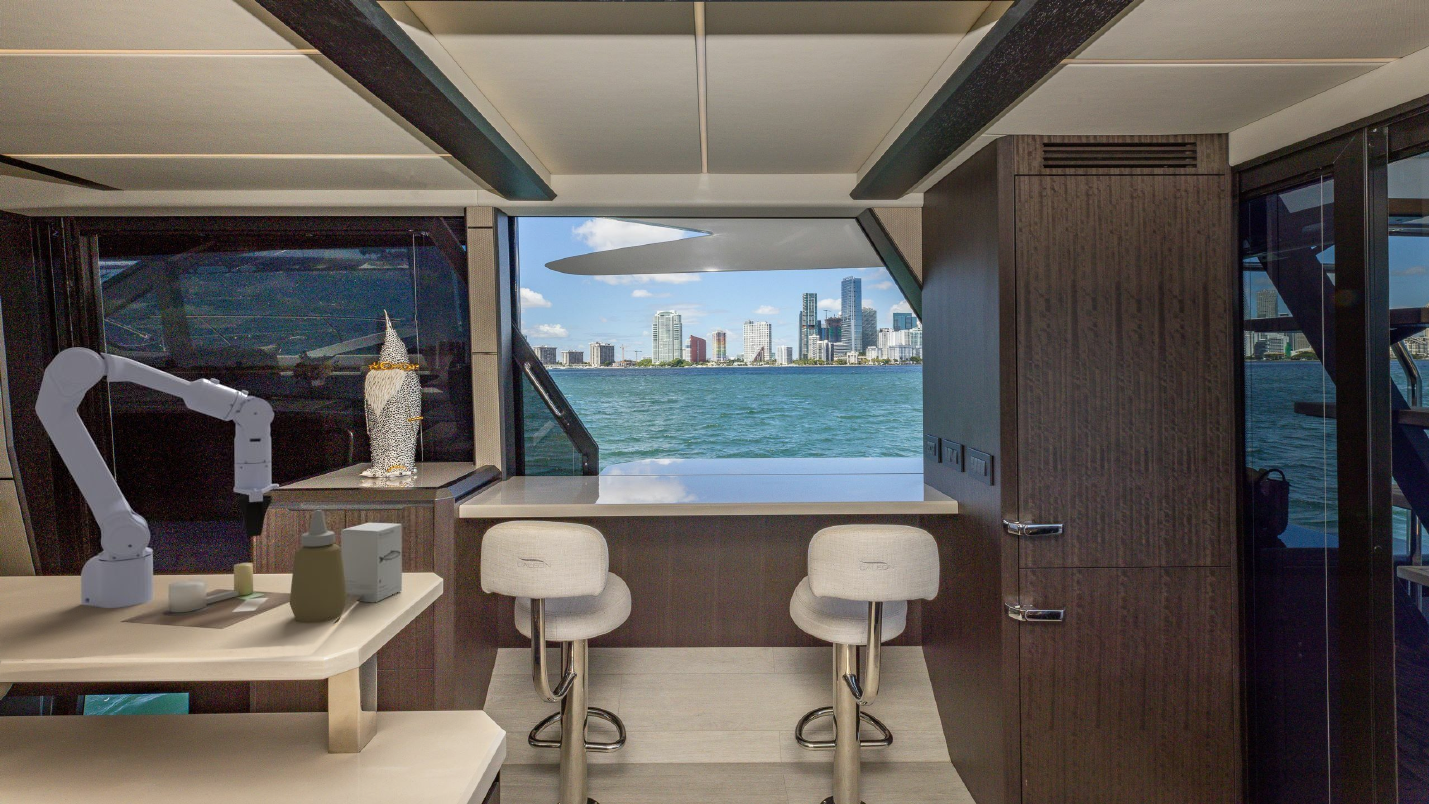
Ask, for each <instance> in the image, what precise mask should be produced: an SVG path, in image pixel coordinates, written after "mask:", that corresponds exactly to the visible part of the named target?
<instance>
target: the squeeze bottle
mask: <svg viewBox="0 0 1429 804" xmlns="http://www.w3.org/2000/svg"><path fill="white" fill-rule="evenodd" d="M324 515H325V514H324V513H323V510H322V509H317V510H316V509H315V510H313V514H312V517H311V522H310V527H309V530H308V532H305V533H302V534H301V537H300V538H301V539H300V541H301V546H300V548H298V549H297V550H296V551H294V556H293V557H294V558H293V568H292V576H291V577H292V578H291V586H290V593H291V594H290V602H289V605H290V608H291V611H292V614H293V616H294V618H295V619H294V620H296V622H299V623H309V624H311V623H321V622H326V621H327V622H328V621H330V620H333V619H336V618H337V620H336V621H334V623H333V625H334V624H336V623H338V622H339V621H340V619H341V615H342V614H343V611H344V608H345V606H346V605H345V604H346V602H347V600H348V594H347V591H346V583H345V574H344V566H343V558H342V550H341V546H340V545H338V544H336V543H335V542H336V533H335V532H334V531H333V530H328V528H327V524H326V519H325V516H324Z"/></svg>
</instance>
